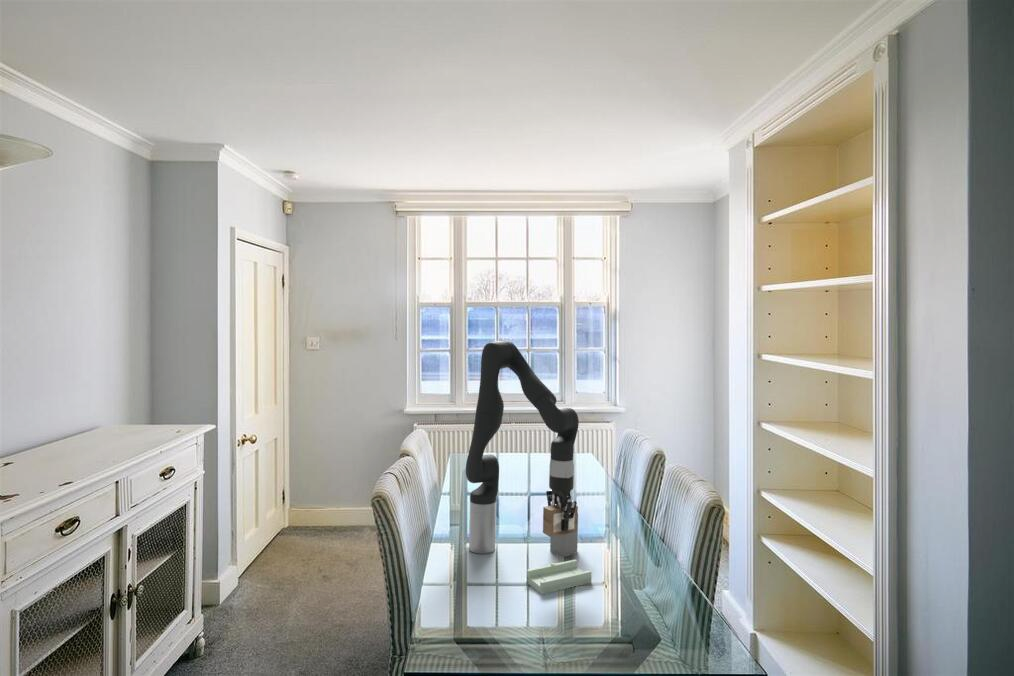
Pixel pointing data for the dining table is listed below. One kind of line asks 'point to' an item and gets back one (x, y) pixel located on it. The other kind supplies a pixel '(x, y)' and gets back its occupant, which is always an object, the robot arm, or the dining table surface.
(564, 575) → the ledge
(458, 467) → the dining table surface
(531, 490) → the dining table surface
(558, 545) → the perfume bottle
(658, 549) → the dining table surface
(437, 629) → the dining table surface
